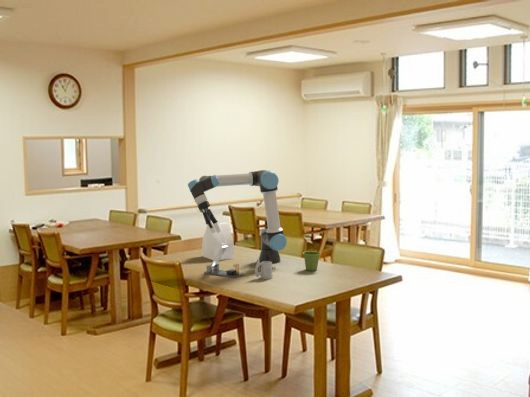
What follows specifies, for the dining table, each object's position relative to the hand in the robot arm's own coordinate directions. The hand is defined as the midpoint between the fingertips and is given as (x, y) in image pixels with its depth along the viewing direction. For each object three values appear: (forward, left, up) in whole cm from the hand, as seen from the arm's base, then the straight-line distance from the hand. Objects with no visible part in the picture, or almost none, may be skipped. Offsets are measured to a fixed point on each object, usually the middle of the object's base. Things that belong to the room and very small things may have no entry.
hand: (216, 232), depth 388 cm
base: (-2, +6, -26) cm, 27 cm away
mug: (-19, +28, -26) cm, 43 cm away
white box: (-21, -45, -26) cm, 57 cm away
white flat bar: (0, +3, -16) cm, 16 cm away
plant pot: (-58, +22, -26) cm, 67 cm away
